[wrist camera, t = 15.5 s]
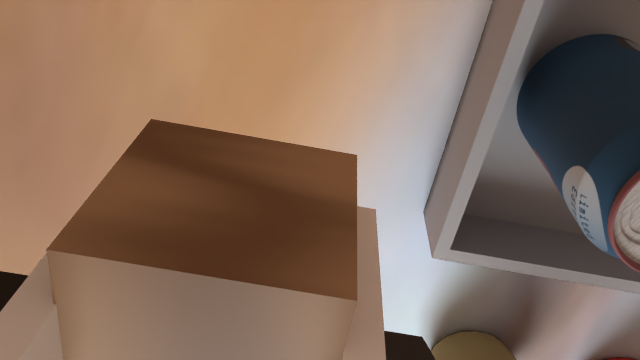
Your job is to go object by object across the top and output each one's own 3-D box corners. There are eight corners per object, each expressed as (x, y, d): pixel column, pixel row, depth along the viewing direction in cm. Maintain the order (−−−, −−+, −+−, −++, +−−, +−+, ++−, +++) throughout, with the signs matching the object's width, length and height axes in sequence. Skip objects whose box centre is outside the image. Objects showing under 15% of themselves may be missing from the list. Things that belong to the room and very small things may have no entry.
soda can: (499, 145, 31) (571, 287, 20) (525, 24, 27) (627, 123, 17) (621, 150, 30) (756, 296, 20) (663, 28, 27) (854, 132, 17)
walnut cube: (151, 275, 15) (70, 437, 11) (151, 118, 13) (47, 249, 8) (322, 304, 15) (309, 474, 11) (356, 155, 13) (357, 300, 9)
